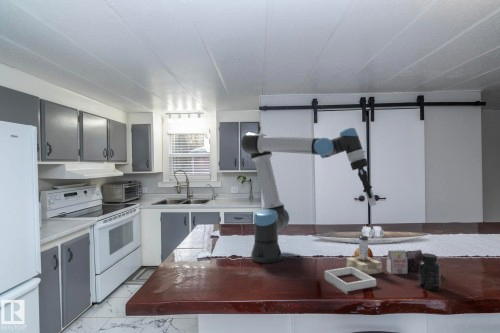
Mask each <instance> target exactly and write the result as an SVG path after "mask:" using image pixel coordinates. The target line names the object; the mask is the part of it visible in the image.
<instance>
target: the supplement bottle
mask: <svg viewBox="0 0 500 333" xmlns="http://www.w3.org/2000/svg"><path fill="white" fill-rule="evenodd" d="M418 284H419V286H420V288H422V289H424V290H425V291H426V290H427V291H432V292H437V291H439V290H441V266H440V264H439V262H438V257H437V254H433V253H427V252H425V253H422V261H420V262H419V271H418Z"/></svg>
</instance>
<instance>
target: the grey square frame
mask: <svg viewBox="0 0 500 333" xmlns="http://www.w3.org/2000/svg"><path fill="white" fill-rule="evenodd" d="M350 274H351V275H353V276H355V277H357V278H358V279H360V280H357V281H350V282H346V281H345V280H342V279H341V278H339V277H340V276H345V275H350ZM324 280H325V281H326V282H327V283H329V284H330V285H332V286H334V287H335V288H337V289H338V290H339V291H341V292H343V293H344V294H346V295H350V292H351V291H355V290H362V289H368V288H374V287H376V286H377V279H376V278H375V277H373V276H370V274H368V275H367V274H365V273H363V272H361V271H359V270H357V269H355V268H353V267H347V266H346V267H341V268H334V269H333V268H332V269H329V270H328V269H327V270H324Z"/></svg>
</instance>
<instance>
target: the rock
mask: <svg viewBox="0 0 500 333" xmlns="http://www.w3.org/2000/svg"><path fill="white" fill-rule="evenodd" d="M405 253H406V258H407V269H408V271H418V272H419V262H420V261H422V254H423V251H422V250H421V249H417V250H416V249H415V250H407V251H406V250H405Z"/></svg>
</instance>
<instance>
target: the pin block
mask: <svg viewBox="0 0 500 333" xmlns="http://www.w3.org/2000/svg"><path fill="white" fill-rule="evenodd" d="M345 259H346V267H353V268H355V269H357V270H359V271H361V272H363V273H365V274H367V275H374V274H379V273H382V272H383V262H382V261H380V260H377V259H374V258H373V257H372V258H370V257H368V262H361V261H359V256H358V257H355V256H351V257H346V258H345Z"/></svg>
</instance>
